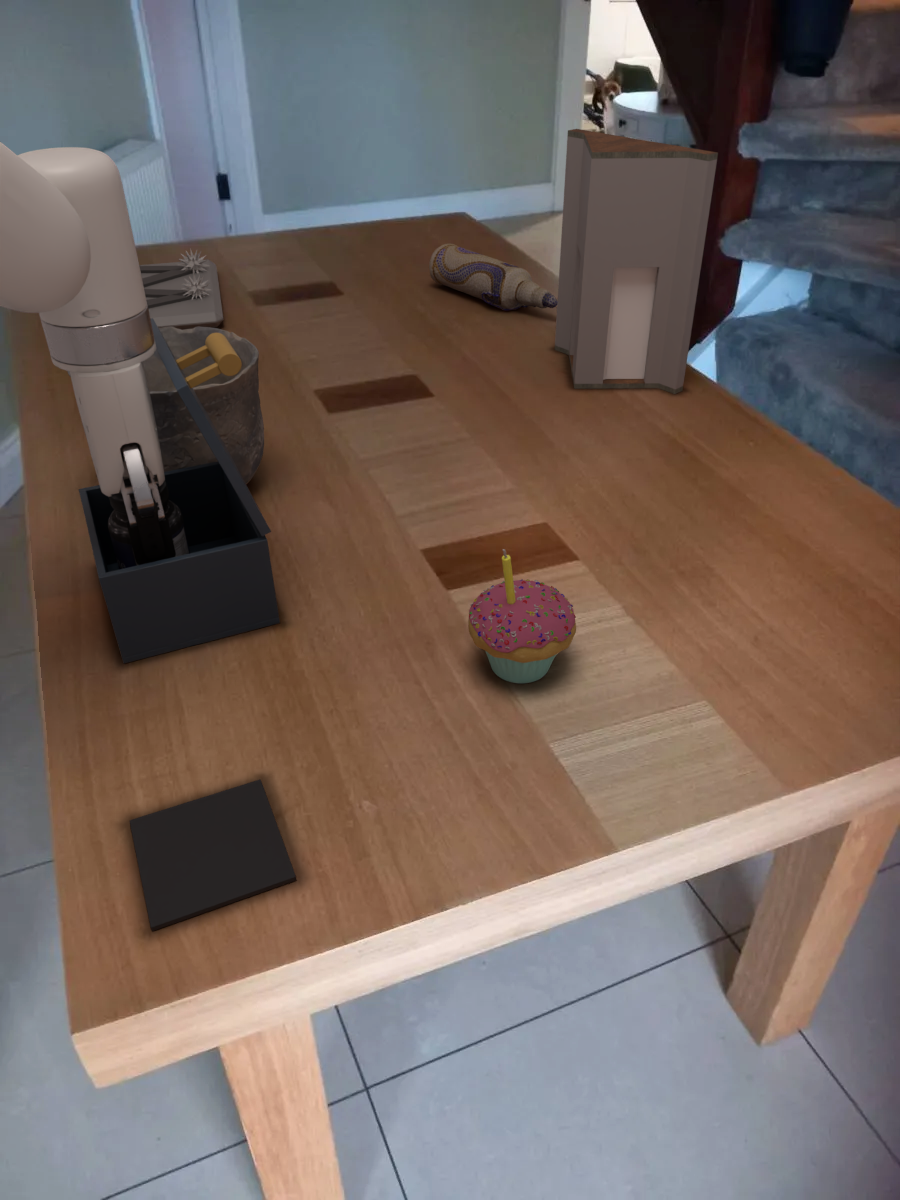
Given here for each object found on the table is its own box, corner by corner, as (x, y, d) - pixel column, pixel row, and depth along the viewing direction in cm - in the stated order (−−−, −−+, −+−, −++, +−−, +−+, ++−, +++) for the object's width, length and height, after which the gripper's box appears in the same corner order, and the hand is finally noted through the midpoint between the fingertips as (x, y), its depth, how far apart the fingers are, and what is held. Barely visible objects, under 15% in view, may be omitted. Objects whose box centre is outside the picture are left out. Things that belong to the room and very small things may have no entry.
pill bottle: (125, 583, 84) (96, 476, 77) (192, 569, 85) (170, 463, 79) (131, 621, 79) (100, 510, 72) (202, 606, 81) (179, 496, 74)
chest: (123, 663, 75) (98, 578, 70) (101, 568, 87) (78, 488, 82) (280, 623, 80) (267, 539, 74) (239, 537, 91) (226, 459, 86)
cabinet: (682, 390, 118) (718, 152, 102) (634, 412, 113) (663, 165, 96) (562, 346, 131) (576, 128, 114) (514, 364, 126) (521, 139, 109)
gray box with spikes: (225, 330, 137) (217, 282, 133) (74, 344, 133) (61, 295, 129) (217, 271, 161) (210, 229, 156) (89, 282, 157) (78, 238, 152)
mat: (152, 931, 55) (150, 927, 55) (130, 824, 62) (129, 820, 62) (296, 880, 58) (296, 876, 58) (261, 782, 65) (260, 778, 65)
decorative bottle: (425, 288, 152) (425, 246, 148) (460, 279, 156) (460, 238, 152) (535, 330, 136) (537, 284, 132) (570, 318, 140) (574, 274, 136)
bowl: (122, 552, 89) (83, 408, 80) (91, 474, 102) (54, 342, 93) (297, 507, 95) (279, 369, 86) (247, 439, 108) (227, 313, 99)
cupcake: (515, 714, 70) (521, 586, 63) (445, 659, 75) (443, 536, 68) (594, 667, 74) (607, 543, 67) (522, 618, 80) (528, 498, 73)
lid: (176, 390, 65) (243, 356, 65) (143, 322, 76) (200, 294, 77) (262, 537, 74) (319, 506, 75) (221, 456, 85) (271, 431, 86)
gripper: (38, 306, 73) (92, 502, 84) (56, 386, 60) (118, 605, 71) (135, 293, 76) (175, 485, 86) (172, 367, 63) (215, 582, 73)
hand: (149, 537), depth 79 cm, fingers closed on pill bottle, 6 cm apart
